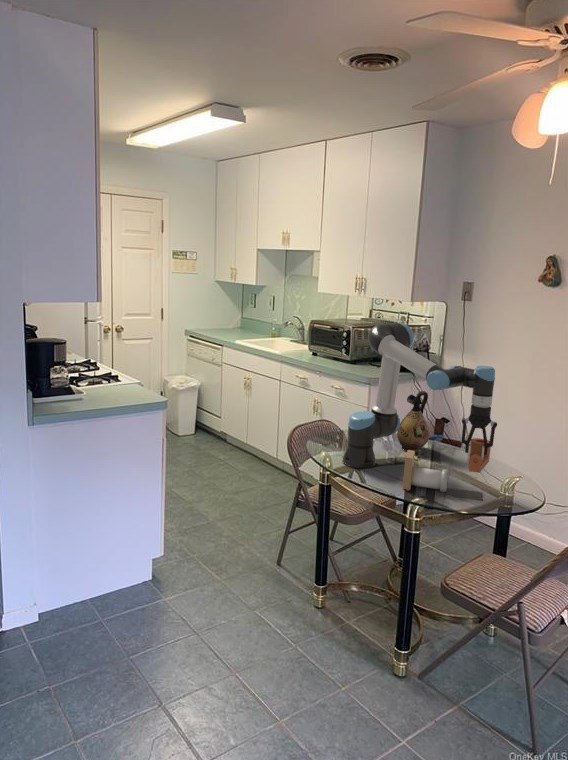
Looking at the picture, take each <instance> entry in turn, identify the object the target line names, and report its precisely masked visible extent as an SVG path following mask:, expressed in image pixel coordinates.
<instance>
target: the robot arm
mask: <svg viewBox="0 0 568 760" xmlns="http://www.w3.org/2000/svg"><path fill="white" fill-rule="evenodd" d="M367 341H368V344H369V346H370V348H371V350H373V351H374V352H375V353H377V354H378V355H380V356H382V357H381V365H380V373H379V377H378V378H379V379H378V387H377V394H376V401H375V404H374V405H373V406H372V405H371V406H372V407H371V411H368V410H367V411H366V410H363V411H361V410H360V411H356V412H353V413H351V414H350V416H349V419H348V424H347V425H348V426H347V444H346V448H345V451H344V453H343V456H342V463H343V462H344V463H346V464H347V465H350V466H352V467H351V468H353V467H356V468H355V469H370V468H373V467H375V465H376V462H377V461H376V460H377V459H376V455H375V451H374V440H377V439H379V438H380V439H381V438H385V437H389V436H392V435H394V434H397V433H396V432H398V429H399V426H400V423H401V418H400V415H399V414H398V413H397V412H398V410H397V409H396V407H395V404H396V403H395V402H396V397H397V392H398V391H397V390H398V383H399V377H400V370H401V366H402V367H404V368H406V369H407V370H408V371H410V372H412V373H414V374H415V375H417V376H418V377H420V378H421V379H423V380H425V381H426V385H428V388H430V389H431V390H432V391H443V390H447V389H452V388H458V387H465V388H470V389H472V396H471V405H470V414H469V416H468V417H466V418H464V417H463V418H461V423H462V430H461V431H462V433H461V443H462V444H464V445H465V447H464V448H465V449H464V452H465V453H466V454H467V456H466V457H467V458H466V461H467V462H468V463H469V458H470V450H471V444H470V443H471V439H473V435H474V432H475V430H476V429H481V430H482V435H483V436H482V437H483V438H482V439H484V446H482V453H481V459H483V457H484V455H487V448H488V447H491V448H493V446H494V439H495V434H496V433H495V431H496V428H497V427H498V422H497V421H495V420H492V419H491V411H492V404H493V403H492V402H493V393H494V385H495V381H496V369H495V368H494V367H493V366H488V365H477V366H475V368H469V367H465V366H461V365H451V366H450V367H448V368H446V369H445V368H443V367H441V366H440V365H438V364H436V363H434V362H432V361H431V360H430V359H427V357H425V356H423V355H421V354H419V353H418V352H416V351H415V350H412V348H410V347H411V346H412V345H413V342H414V333H413V330H412V329H411V327H410V326H409V325H408V324H406V323H400V322H394V323H392V322H391V323H379V324H376V325H375V326H373V327H372V328H371V329H370V330H369V332H368V335H367ZM468 423H470V424H471V428H470V431H469V433H468V436H467V439H466V433H467V432H466V431H467V425H468ZM489 425H490V428H491V429H490V434H489V435H490V436H489V441H490V442H489V443H487V440H488V438H487V429H486V427H488V426H489ZM344 463H343V464H344ZM347 465H346V466H347ZM350 466H349V467H350Z"/></svg>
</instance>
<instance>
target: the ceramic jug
mask: <svg viewBox="0 0 568 760" xmlns="http://www.w3.org/2000/svg"><path fill="white" fill-rule="evenodd" d="M422 396H423V398H421V397H422ZM428 396H429V393H428V392H427V391H425V390H421V391H419V392H417V393H416V396H415V395H414V394H410V395H408V396H407V398H406V402H407V403H409V404H410V405H413V407H412V408H411V409H410V411H409V412H408V413H407V414H406V415H405V416H404V418H402V420H401V421H400V426H399V429H398V430H397V433H396V436H397V440H398V443H399V444H400V446H401V449H402V450H403V449H404V450H403V451H404V452H405V451H406V452H407V451H408V450H412V451H415V453H418V452H420V451H421V450H422V448H423V447H424V446H425V445H426V444H427V443H428V441H429V439H430V438H429V437H430V430H429V426H428V423H427V420H426V418H425V417H424V409H425V407H426V404H427V401H428V399H429V397H428Z"/></svg>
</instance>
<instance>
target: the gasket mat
mask: <svg viewBox="0 0 568 760" xmlns="http://www.w3.org/2000/svg"><path fill="white" fill-rule="evenodd" d="M483 495H484V493H483V491H476V490H475V491H474V490H467V489H462V488H461V489H460V488H454V487H449V486H447V488H446V496H448V497H454V498H455V497H456V498H461V499H462V498H464V499H468V500H469V499H470V500H476V501H482V502H483V501H484V497H483Z"/></svg>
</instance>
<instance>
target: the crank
mask: <svg viewBox="0 0 568 760" xmlns="http://www.w3.org/2000/svg"><path fill="white" fill-rule="evenodd" d="M489 442H490V439H489V440H488V439H487V443H489ZM470 444H471V450H470V458H469V462H468V472H471V473H477V474H479V473H481V472H482V471H483V469H485V467H486V466H487V465H488V463H490V455H491V448H492V447H488V448H487V455H484V457H483V459H481V453H482V446H484V438H479V437H477V438H475V437H474V438H471V441H470Z"/></svg>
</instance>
